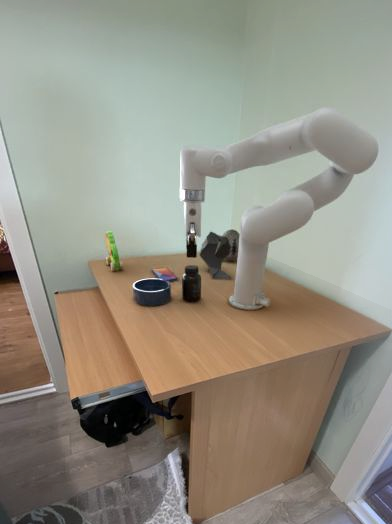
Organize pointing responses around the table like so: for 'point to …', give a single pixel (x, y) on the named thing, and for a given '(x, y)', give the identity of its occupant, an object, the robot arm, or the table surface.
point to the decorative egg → (232, 244)
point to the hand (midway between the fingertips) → (191, 253)
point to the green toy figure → (112, 253)
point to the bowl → (152, 292)
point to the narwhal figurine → (215, 254)
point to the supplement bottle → (191, 284)
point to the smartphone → (164, 274)
